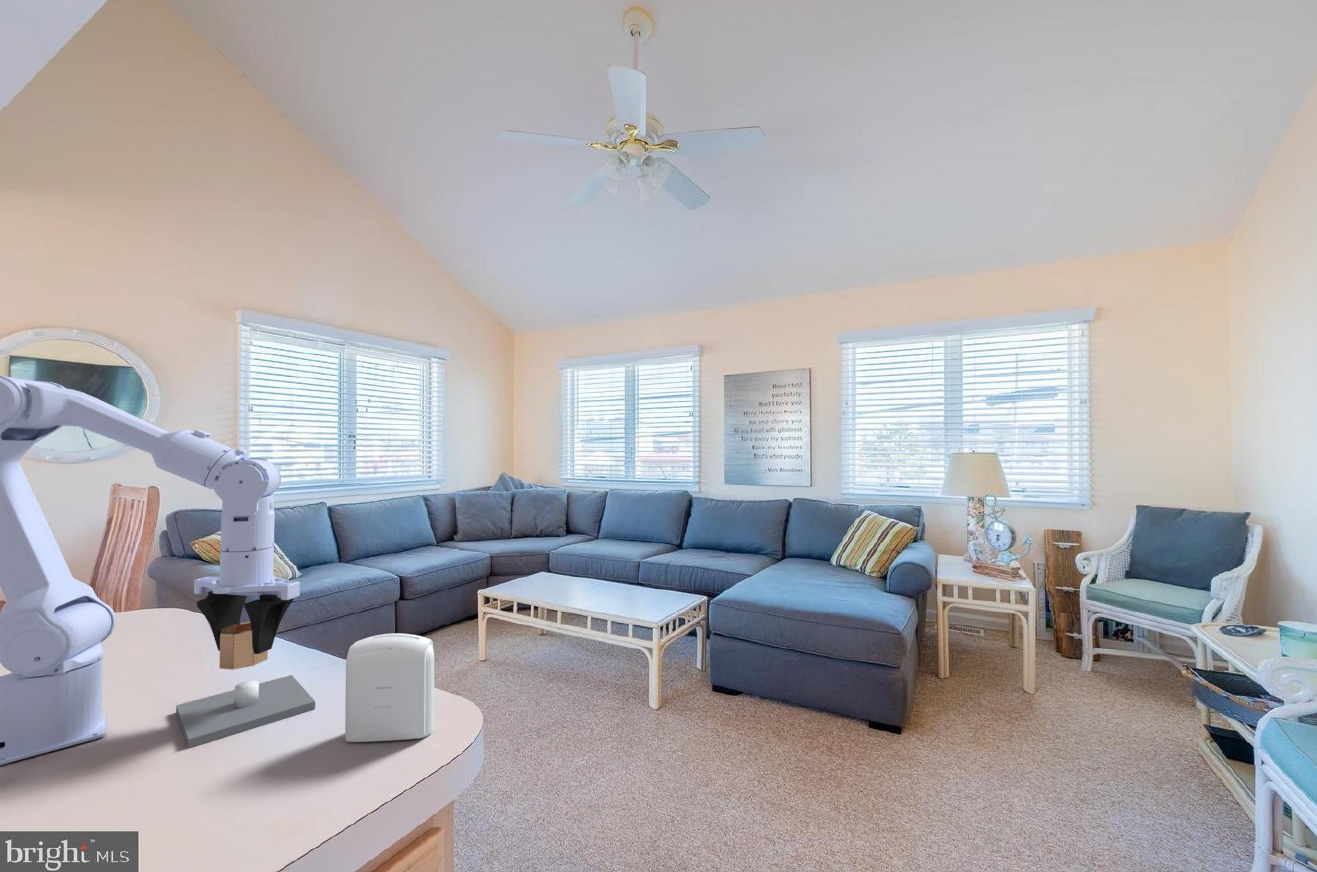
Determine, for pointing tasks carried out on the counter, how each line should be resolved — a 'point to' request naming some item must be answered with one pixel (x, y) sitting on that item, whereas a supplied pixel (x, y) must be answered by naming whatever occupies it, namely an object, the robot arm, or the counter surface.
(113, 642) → the counter surface
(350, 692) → the photo printer
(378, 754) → the counter surface
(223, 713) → the plate
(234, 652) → the octagonal cardboard bin
